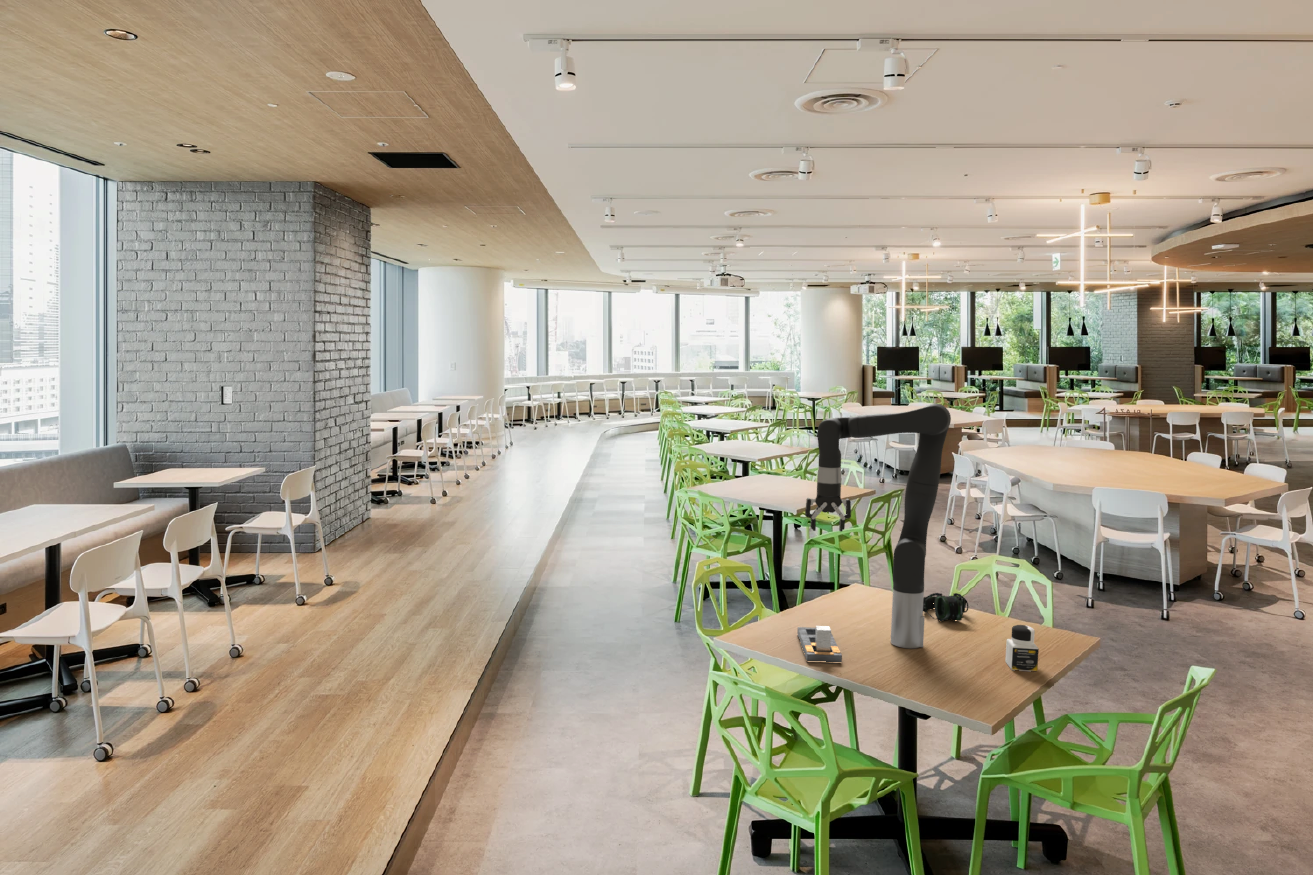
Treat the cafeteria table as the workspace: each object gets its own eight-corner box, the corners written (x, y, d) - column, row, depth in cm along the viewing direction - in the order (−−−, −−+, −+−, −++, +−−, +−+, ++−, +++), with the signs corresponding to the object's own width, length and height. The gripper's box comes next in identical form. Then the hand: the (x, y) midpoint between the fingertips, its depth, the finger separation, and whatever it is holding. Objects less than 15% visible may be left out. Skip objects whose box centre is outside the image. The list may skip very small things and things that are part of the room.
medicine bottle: (1011, 670, 244) (1013, 629, 243) (1004, 661, 251) (1007, 622, 250) (1037, 672, 243) (1040, 631, 242) (1030, 663, 250) (1032, 623, 249)
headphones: (984, 608, 286) (959, 601, 306) (956, 580, 286) (933, 574, 305) (957, 637, 284) (934, 627, 304) (929, 609, 284) (908, 601, 304)
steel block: (828, 655, 254) (829, 626, 253) (830, 660, 250) (831, 630, 249) (814, 655, 254) (815, 625, 254) (816, 659, 250) (817, 629, 250)
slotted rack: (828, 635, 272) (829, 627, 272) (841, 663, 247) (841, 654, 247) (797, 634, 273) (797, 626, 273) (806, 662, 248) (807, 653, 248)
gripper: (849, 479, 276) (847, 529, 277) (805, 478, 276) (803, 527, 278) (853, 483, 268) (851, 533, 270) (808, 481, 269) (806, 532, 270)
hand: (827, 530), depth 274 cm, fingers open, 8 cm apart
